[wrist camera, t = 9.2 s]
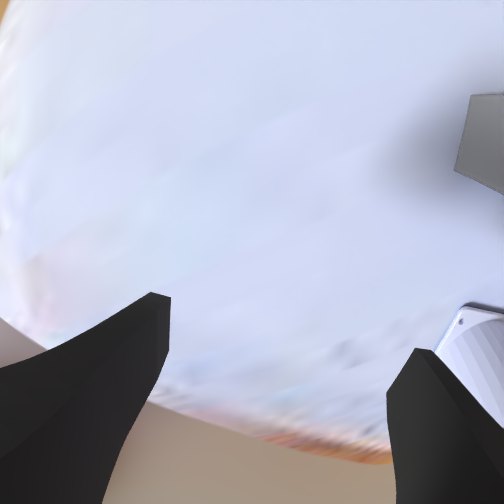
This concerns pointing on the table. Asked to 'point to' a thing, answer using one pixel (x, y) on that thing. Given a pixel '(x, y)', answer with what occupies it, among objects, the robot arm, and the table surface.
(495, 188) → the grey button block
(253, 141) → the table surface
